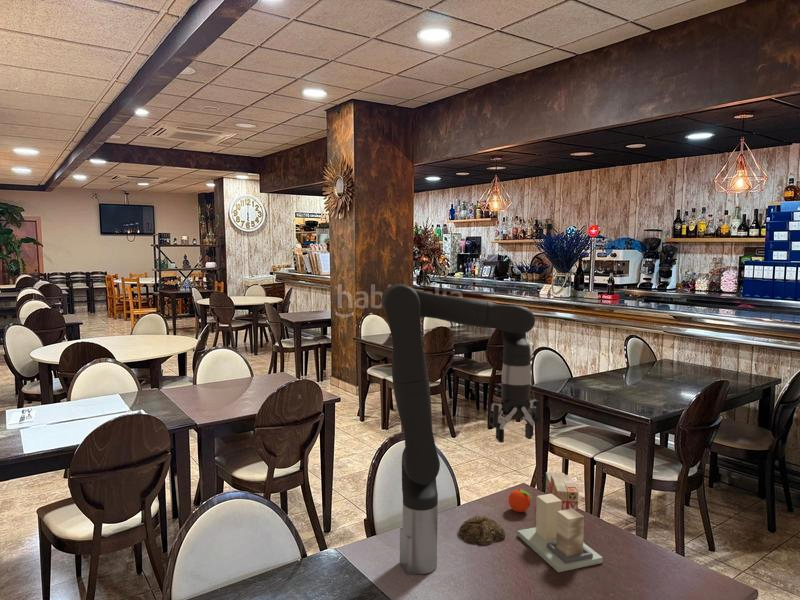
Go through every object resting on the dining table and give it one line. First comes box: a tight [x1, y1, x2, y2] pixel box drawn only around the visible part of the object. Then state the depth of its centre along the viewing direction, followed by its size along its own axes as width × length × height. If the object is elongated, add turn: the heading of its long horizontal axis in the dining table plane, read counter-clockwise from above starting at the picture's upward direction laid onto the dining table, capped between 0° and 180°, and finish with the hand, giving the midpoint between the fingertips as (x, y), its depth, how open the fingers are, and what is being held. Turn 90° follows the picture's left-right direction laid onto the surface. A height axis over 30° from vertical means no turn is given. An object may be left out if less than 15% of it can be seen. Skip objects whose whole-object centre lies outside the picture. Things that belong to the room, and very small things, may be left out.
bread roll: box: [458, 515, 506, 546], centre depth 165 cm, size 13×12×5 cm
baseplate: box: [517, 493, 604, 573], centre depth 157 cm, size 14×20×12 cm
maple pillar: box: [556, 508, 585, 557], centre depth 152 cm, size 5×5×11 cm
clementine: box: [507, 488, 534, 513], centre depth 179 cm, size 8×7×7 cm
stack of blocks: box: [545, 471, 579, 512], centre depth 178 cm, size 21×6×12 cm, turn 174°
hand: (514, 440), depth 149 cm, fingers open, 8 cm apart
